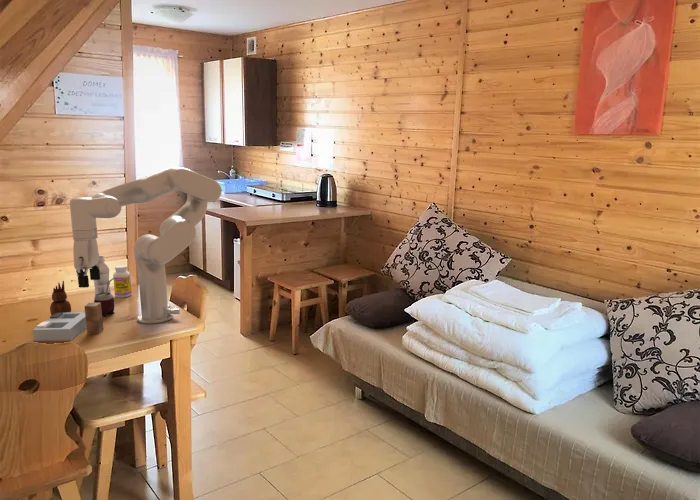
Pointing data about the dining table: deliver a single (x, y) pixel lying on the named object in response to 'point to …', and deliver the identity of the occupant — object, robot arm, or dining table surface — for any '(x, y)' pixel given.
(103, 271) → the plastic bottle
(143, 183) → the robot arm
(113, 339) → the dining table surface
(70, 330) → the socket board
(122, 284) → the supplement bottle
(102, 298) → the mate gourd
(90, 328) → the plug
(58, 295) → the wooden figurine
